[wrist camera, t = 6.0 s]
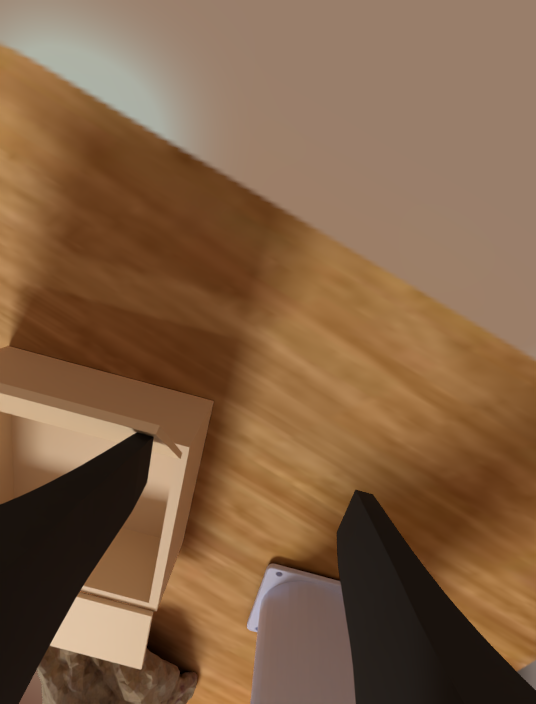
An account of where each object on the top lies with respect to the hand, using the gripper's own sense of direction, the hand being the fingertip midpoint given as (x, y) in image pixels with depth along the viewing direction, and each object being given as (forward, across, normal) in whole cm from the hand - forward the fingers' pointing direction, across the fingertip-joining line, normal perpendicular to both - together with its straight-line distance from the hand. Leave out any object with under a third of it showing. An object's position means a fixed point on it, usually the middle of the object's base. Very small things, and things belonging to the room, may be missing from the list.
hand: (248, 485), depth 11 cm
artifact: (+10, +6, +35) cm, 37 cm away
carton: (+9, +10, +12) cm, 19 cm away
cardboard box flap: (+2, +10, +1) cm, 10 cm away
